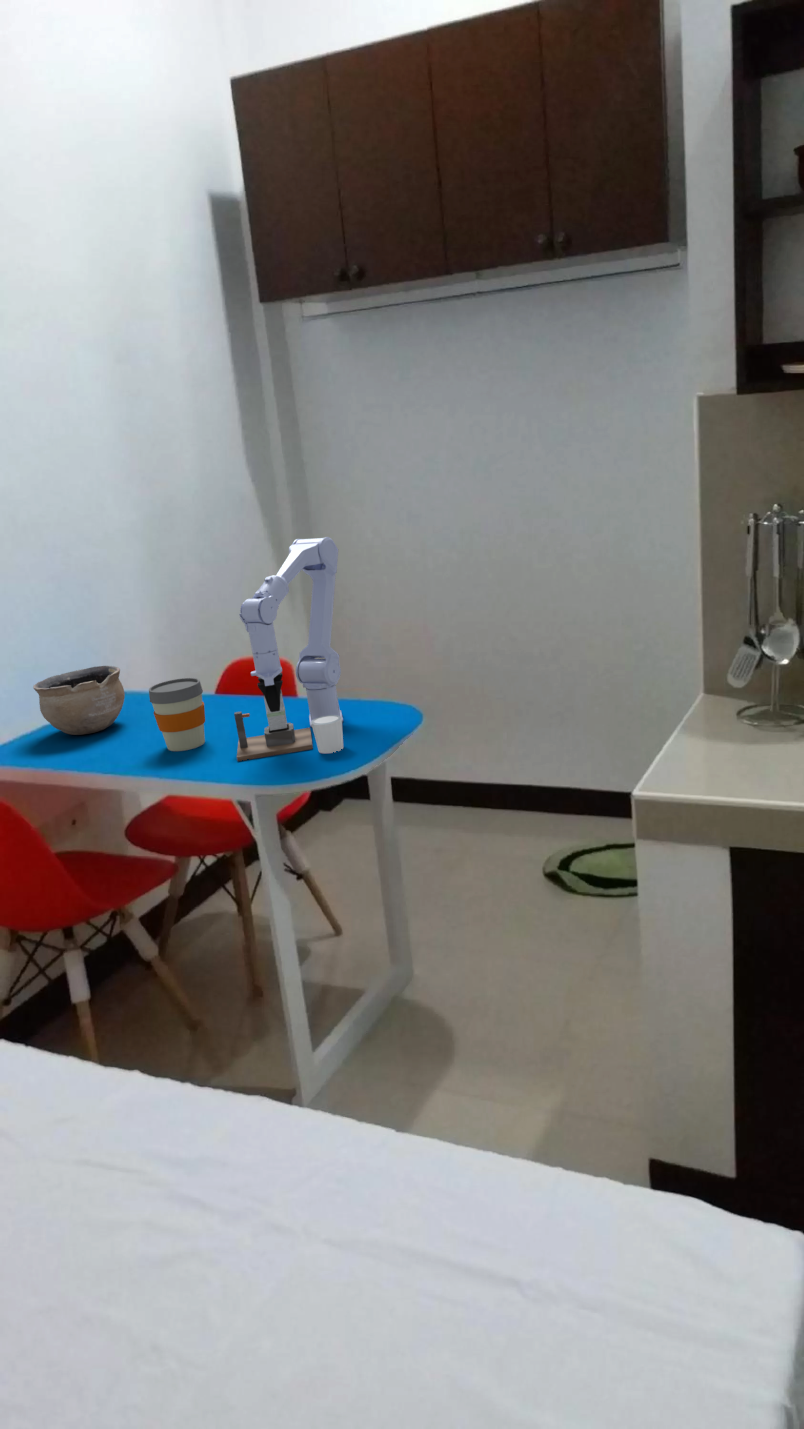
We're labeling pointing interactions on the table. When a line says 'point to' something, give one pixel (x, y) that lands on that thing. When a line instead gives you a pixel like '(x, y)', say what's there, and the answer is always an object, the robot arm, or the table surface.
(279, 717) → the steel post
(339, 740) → the shot glass
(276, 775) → the table surface
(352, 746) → the table surface
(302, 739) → the stand
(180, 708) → the reusable coffee cup
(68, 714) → the ceramic bowl
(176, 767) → the table surface
